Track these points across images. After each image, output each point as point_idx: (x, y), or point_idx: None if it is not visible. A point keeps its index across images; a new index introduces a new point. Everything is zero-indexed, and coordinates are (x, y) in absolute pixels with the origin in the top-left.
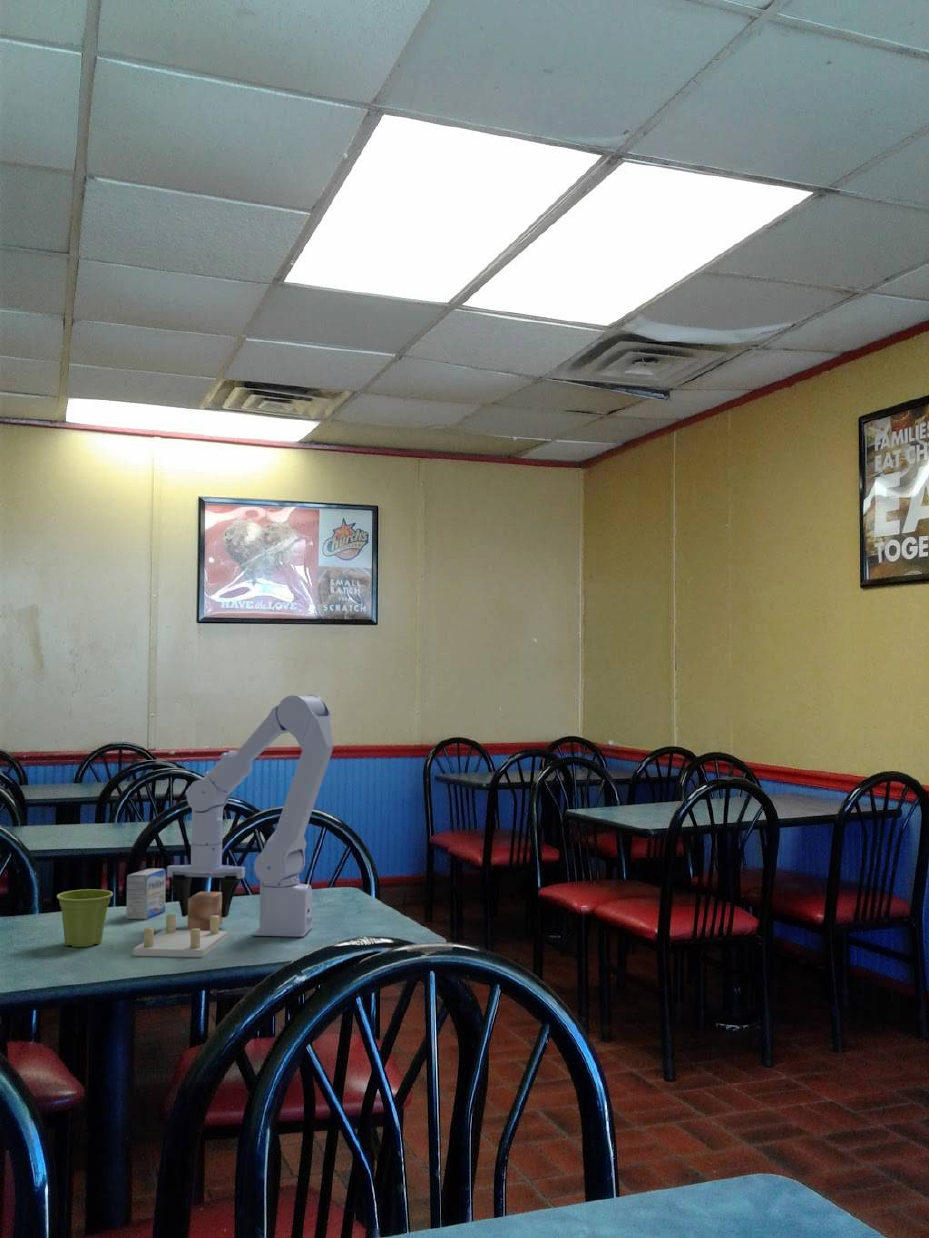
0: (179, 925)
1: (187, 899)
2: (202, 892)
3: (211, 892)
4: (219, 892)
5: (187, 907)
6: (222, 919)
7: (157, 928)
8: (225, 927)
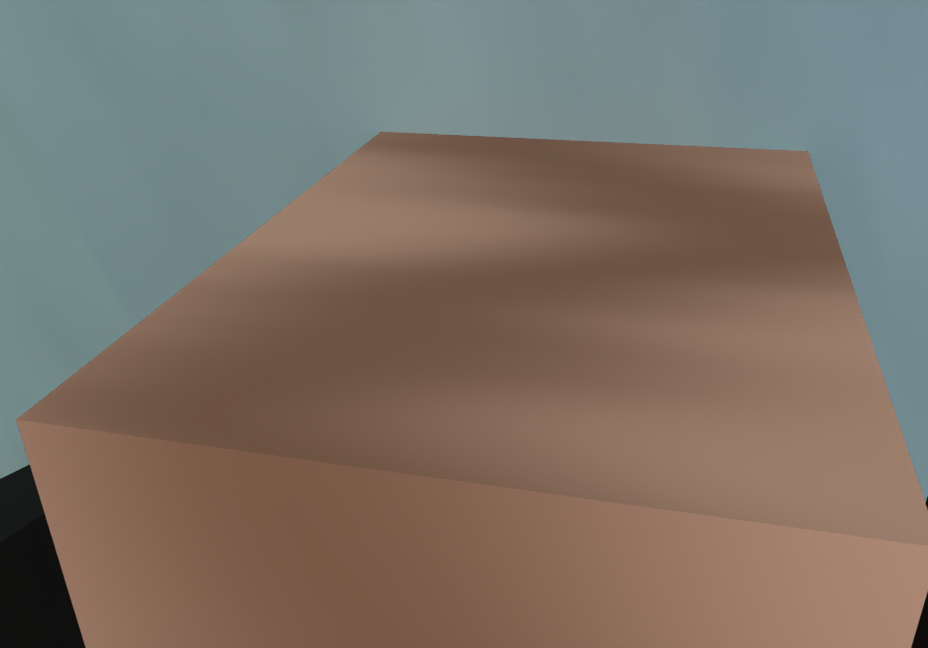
0: None
1: (38, 642)
2: (161, 549)
3: (460, 582)
4: (780, 596)
5: None
6: (814, 177)
7: (27, 465)
8: (915, 460)
